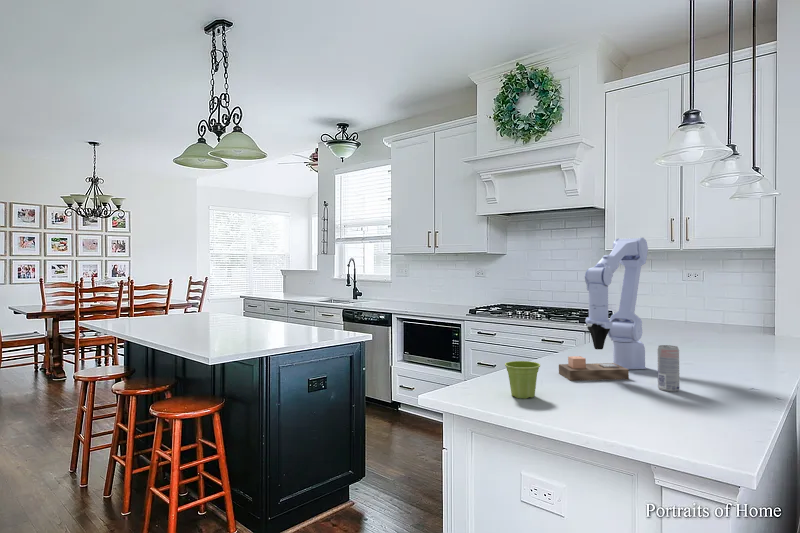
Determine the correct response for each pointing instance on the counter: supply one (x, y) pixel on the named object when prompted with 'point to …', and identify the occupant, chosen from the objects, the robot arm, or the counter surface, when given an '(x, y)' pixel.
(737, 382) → the counter surface
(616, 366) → the white marbled block
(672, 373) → the energy drink
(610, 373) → the button panel
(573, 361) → the terracotta button
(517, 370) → the plant pot
